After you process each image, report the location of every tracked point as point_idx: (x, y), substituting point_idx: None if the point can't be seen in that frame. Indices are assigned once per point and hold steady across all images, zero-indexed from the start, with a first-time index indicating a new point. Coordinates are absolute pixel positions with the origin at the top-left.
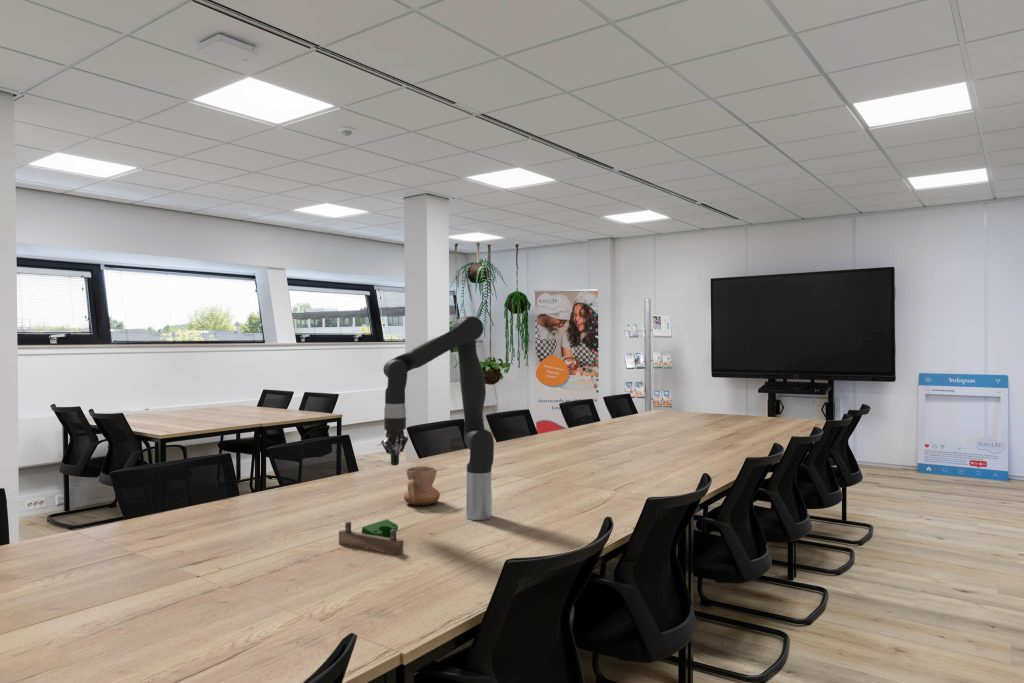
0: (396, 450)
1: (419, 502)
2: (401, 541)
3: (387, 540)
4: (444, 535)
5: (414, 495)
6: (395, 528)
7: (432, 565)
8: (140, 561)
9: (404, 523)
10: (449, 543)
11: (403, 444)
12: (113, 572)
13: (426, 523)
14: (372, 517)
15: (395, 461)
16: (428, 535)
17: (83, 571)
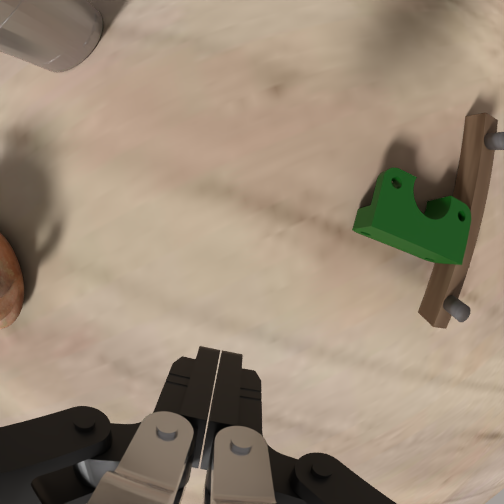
0: (234, 475)
1: (17, 263)
2: (490, 116)
3: (492, 157)
4: (287, 42)
5: (6, 288)
6: (404, 172)
7: (495, 41)
8: (474, 478)
9: (190, 225)
10: (357, 14)
11: (20, 468)
12: (501, 465)
13: (167, 151)
14: (164, 351)
15: (237, 382)
16: (303, 88)
17: (490, 483)
